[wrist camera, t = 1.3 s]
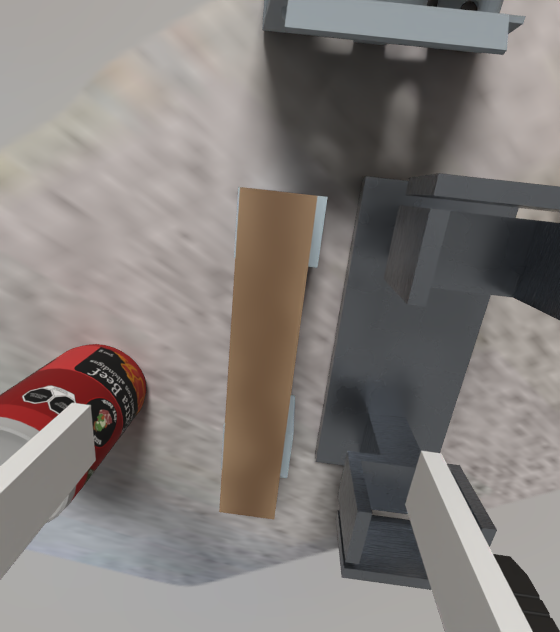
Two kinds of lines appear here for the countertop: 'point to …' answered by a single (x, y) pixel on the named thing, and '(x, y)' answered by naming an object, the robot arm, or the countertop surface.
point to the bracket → (397, 22)
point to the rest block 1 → (316, 229)
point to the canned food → (74, 401)
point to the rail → (263, 344)
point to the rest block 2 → (287, 440)
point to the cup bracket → (420, 343)
